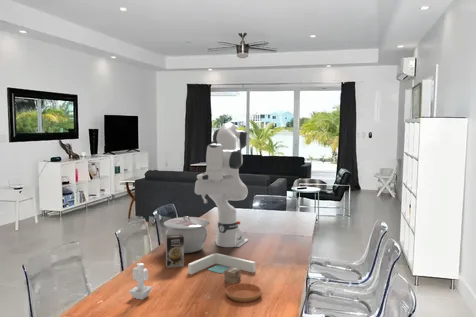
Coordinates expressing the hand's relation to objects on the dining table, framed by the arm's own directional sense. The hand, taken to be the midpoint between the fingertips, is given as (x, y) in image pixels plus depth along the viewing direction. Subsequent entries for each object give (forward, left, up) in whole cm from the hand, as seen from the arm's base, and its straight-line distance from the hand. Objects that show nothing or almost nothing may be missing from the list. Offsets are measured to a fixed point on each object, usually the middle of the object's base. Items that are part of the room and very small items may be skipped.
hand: (214, 202), depth 212 cm
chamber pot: (-18, -35, -36) cm, 53 cm away
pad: (-3, +1, -35) cm, 36 cm away
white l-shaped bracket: (0, +6, -35) cm, 36 cm away
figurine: (+44, -6, -36) cm, 57 cm away
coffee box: (+6, -22, -36) cm, 42 cm away
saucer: (+17, +30, -36) cm, 50 cm away
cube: (+6, +16, -36) cm, 39 cm away
